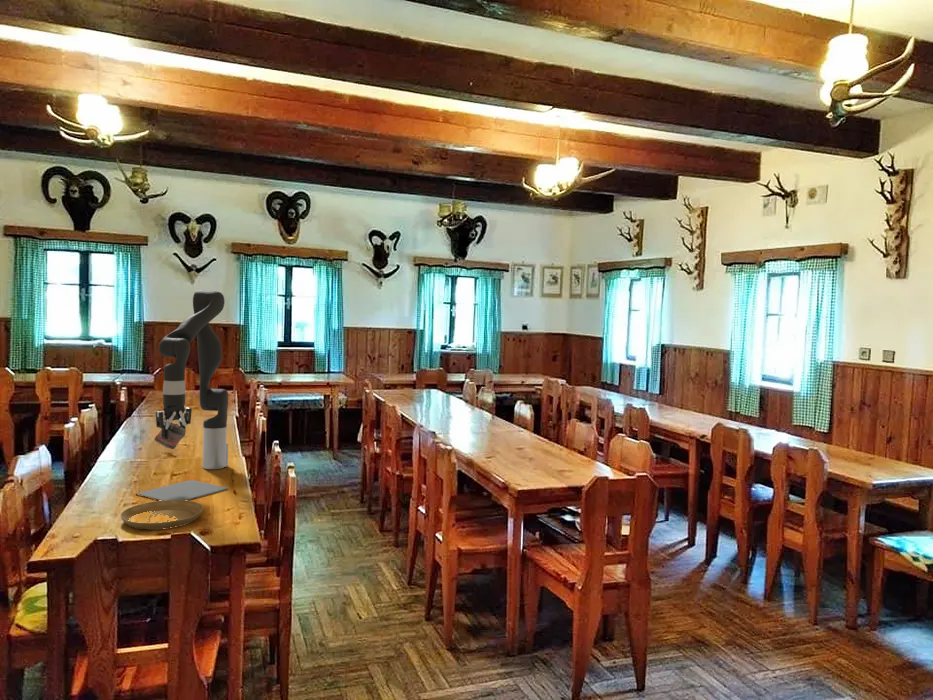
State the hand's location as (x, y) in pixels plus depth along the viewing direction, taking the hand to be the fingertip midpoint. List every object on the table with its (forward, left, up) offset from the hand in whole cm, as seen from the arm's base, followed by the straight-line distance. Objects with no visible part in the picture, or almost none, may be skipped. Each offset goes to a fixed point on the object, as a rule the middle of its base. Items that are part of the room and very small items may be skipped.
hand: (173, 437), depth 252 cm
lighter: (0, -5, -3) cm, 6 cm away
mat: (0, +5, -20) cm, 20 cm away
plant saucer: (+25, +26, -20) cm, 41 cm away
